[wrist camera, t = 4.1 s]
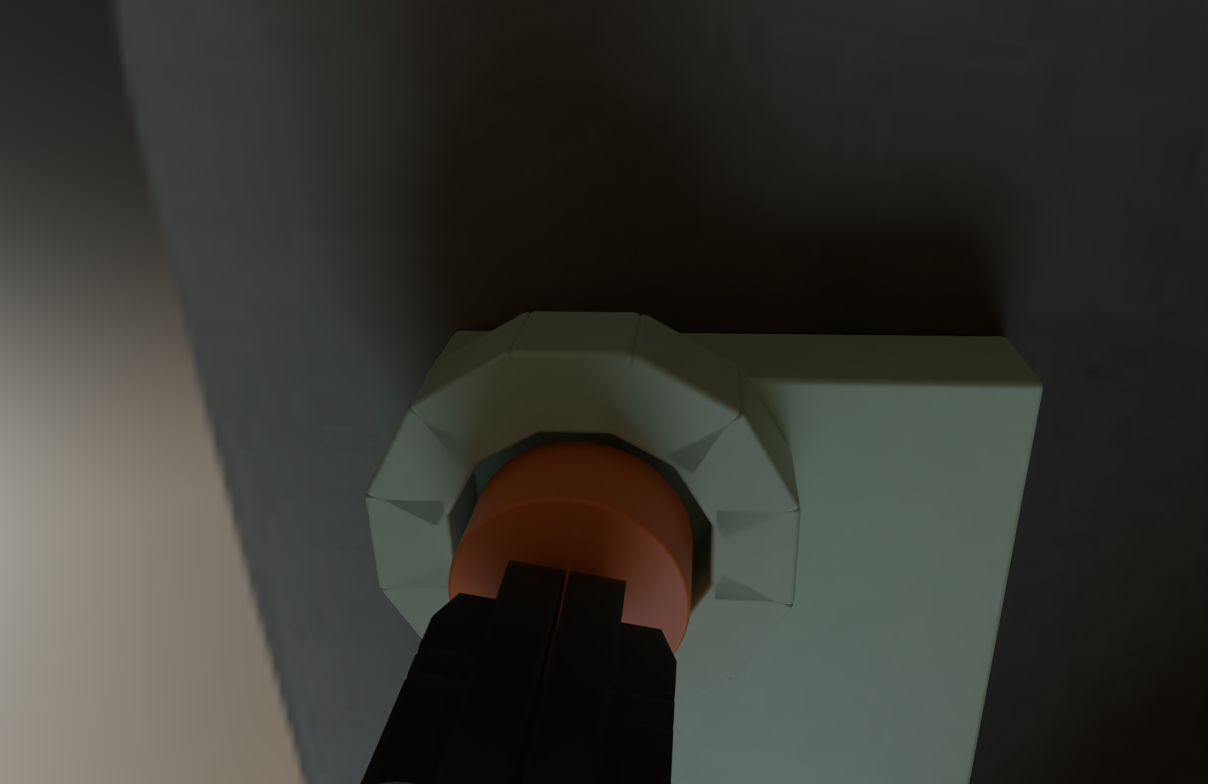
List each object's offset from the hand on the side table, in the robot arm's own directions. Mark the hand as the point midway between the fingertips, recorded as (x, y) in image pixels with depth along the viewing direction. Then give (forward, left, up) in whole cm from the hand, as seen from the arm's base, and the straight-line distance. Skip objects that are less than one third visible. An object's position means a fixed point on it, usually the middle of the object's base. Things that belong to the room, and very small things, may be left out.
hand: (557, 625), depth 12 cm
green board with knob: (+3, +3, -5) cm, 6 cm away
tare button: (0, 0, -2) cm, 2 cm away
